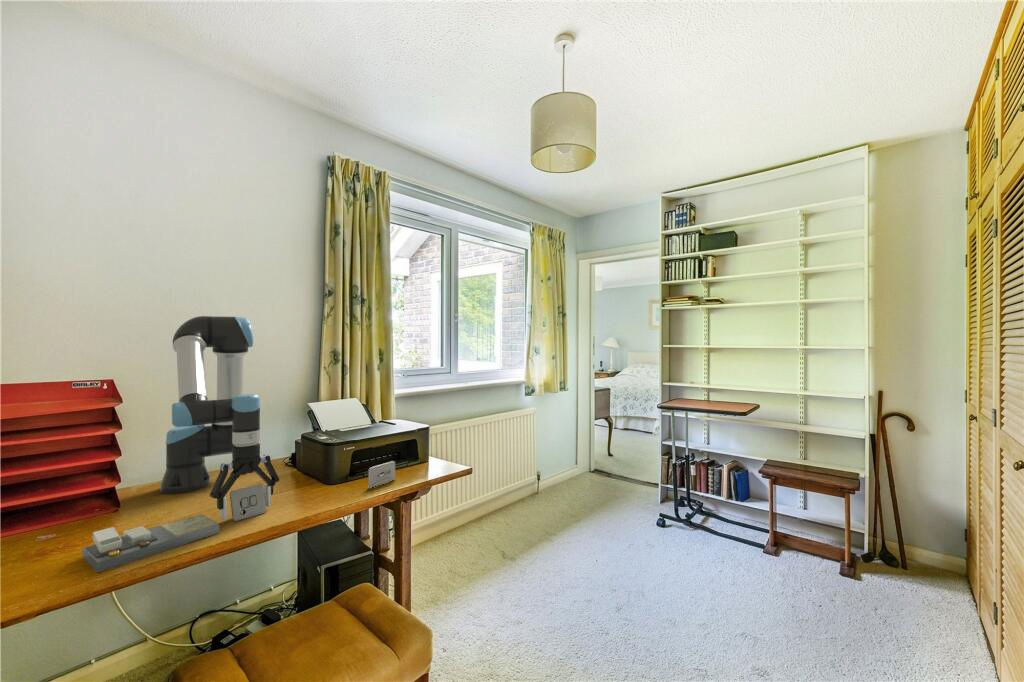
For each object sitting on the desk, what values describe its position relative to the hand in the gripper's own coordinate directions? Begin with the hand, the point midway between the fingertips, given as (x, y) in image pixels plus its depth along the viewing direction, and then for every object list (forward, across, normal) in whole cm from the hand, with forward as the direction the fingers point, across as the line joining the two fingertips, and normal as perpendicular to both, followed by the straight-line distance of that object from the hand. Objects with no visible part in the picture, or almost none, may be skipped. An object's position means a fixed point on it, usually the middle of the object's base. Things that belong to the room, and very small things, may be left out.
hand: (246, 512), depth 138 cm
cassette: (+1, +44, -11) cm, 45 cm away
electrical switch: (+1, 0, 0) cm, 1 cm away
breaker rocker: (-4, -33, 0) cm, 33 cm away
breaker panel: (+1, -24, 0) cm, 24 cm away
